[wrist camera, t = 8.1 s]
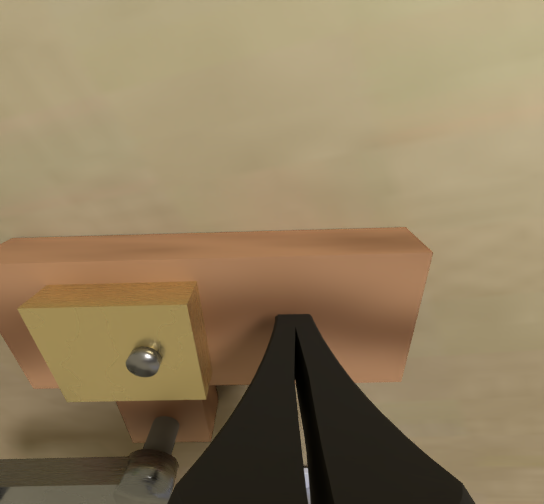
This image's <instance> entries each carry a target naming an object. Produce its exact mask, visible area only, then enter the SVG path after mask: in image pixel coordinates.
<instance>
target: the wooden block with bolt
mask: <svg viewBox="0 0 544 504" xmlns="http://www.w3.org/2000/svg"><path fill="white" fill-rule="evenodd" d="M17 310H18V311H19V313H20V315H21V317H22V319H23V321H24V323H25V324H26V326H27V328H28V330H29V332H30V334H31V336H32V337H33V339H34V341H35V343H36V345H37V347H38V349H39V351H40V352H41V354H42V356H43V358H44V360H45V362H46V364H47V365H48V367H49V369H50V371H51V373H52V375H53V377H54V378H55V380H56V382H57V384H58V386H59V388H60V390H61V392H62V393H63V395H64V397H65V399H66V401H67V402H98V401H154V400H206V398H207V394H208V389H209V385H210V381H211V376H212V372H213V369H212V364H211V358H210V352H209V347H208V341H207V335H206V330H205V324H204V318H203V313H202V307H201V301H200V296H199V290H198V284H197V281H185V282H145V283H105V284H65V285H46V286H45V287H44V288H42V289H41V290H40V291H39V292H37V293H36V294H35V295H34V296H32V297H31V298H30V299H28V300H27V301H26V302H25V303H23V304H22V305H21V306H20V307H18V308H17Z"/></svg>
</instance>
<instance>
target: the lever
mask: <svg viewBox="0 0 544 504" xmlns="http://www.w3.org/2000/svg"><path fill="white" fill-rule="evenodd" d="M178 467H179V465H178V462H177V460H176V459H175V458H174V457H173V456H172V455H170V454H168V453H166V452H164V451H160V450H155V449H141V450H137V451H135V452H133V453H131V454H130V455H129V457H89V458H45V459H0V504H167V503H168V501H169V498H170V496H171V493H172V490H173V486H174V482H175V478H176V474H177V471H178Z"/></svg>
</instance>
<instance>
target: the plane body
mask: <svg viewBox="0 0 544 504" xmlns="http://www.w3.org/2000/svg"><path fill="white" fill-rule="evenodd" d="M432 255H433V252H432V251H431V250H430V249H429V248H428V247H427V246H425V245H424V244H423V243H422V242H421V241H420V240H419V239H418V238H417V237H416V236H415V235H414V234H412V233H411V232H410V231H409V230H408V229H407V228H406V227H399V228H363V229H327V230H291V231H255V232H219V233H183V234H147V235H111V236H75V237H39V238H12V239H10V240H8V241H6V242H4V243H2V244H0V333H1V335H2V337H3V338H4V340H5V342H6V343H7V345H8V347H9V348H10V350H11V352H12V353H13V355H14V357H15V358H16V360H17V362H18V363H19V365H20V367H21V368H22V370H23V372H24V373H25V375H26V377H27V378H28V380H29V382H30V384H31V385H32V387H33V389H38V388H59V386H58V384H57V382H56V380H55V378H54V377H53V375H52V373H51V371H50V369H49V367H48V365H47V364H46V362H45V360H44V358H43V356H42V354H41V352H40V351H39V349H38V347H37V345H36V343H35V341H34V339H33V337H32V336H31V334H30V332H29V330H28V328H27V326H26V324H25V323H24V321H23V319H22V317H21V315H20V313H19V311H18V310H17V308H18V307H20V306H21V305H22V304H23V303H25V302H26V301H27V300H28V299H30V298H31V297H32V296H34V295H35V294H36V293H37V292H39V291H40V290H41V289H42V288H44V287H45V286H46V285H65V284H105V283H145V282H185V281H197V284H198V290H199V296H200V301H201V307H202V313H203V318H204V324H205V330H206V335H207V341H208V347H209V352H210V358H211V364H212V369H213V372H212V376H211V381H210V385H209V389H208V394H207V398H206V400H154V401H116V403H117V406H118V408H119V410H120V413H121V415H122V417H123V420H124V422H125V425H126V427H127V429H128V432H129V434H130V437H131V439H132V441H133V443H145V445H144V447H143V449H155V450H160V451H164V452H166V453H168V454H170V455H171V454H172V450H173V447H174V443H175V442H211V438H212V433H213V428H214V422H215V417H216V411H217V406H218V395H217V390H216V385H250V383H251V381H252V379H253V377H254V376H255V374H256V371H257V369H258V367H259V365H260V363H261V361H262V359H263V356H264V354H265V351H266V349H267V346H268V343H269V341H270V338H271V335H272V331H273V328H274V323H275V317H276V316H277V315H278V314H310V315H311V316H312V318H313V320H314V322H315V324H316V326H317V328H318V330H319V332H320V333H321V335H322V337H323V339H324V340H325V342H326V344H327V345H328V347H329V348H330V350H331V351H332V353H333V354H334V356H335V357H336V359H337V360H338V362H339V363H340V364H341V366H342V367H343V368H344V370H345V371H346V372H347V374H348V375H349V376H350V378H351V379H352V380H353V381H354V383H360V382H401V380H402V376H403V372H404V368H405V364H406V360H407V356H408V352H409V348H410V344H411V340H412V336H413V332H414V328H415V324H416V320H417V316H418V312H419V307H420V303H421V299H422V295H423V291H424V287H425V283H426V279H427V275H428V271H429V267H430V263H431V259H432ZM295 384H296V381H295Z"/></svg>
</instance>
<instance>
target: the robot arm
mask: <svg viewBox="0 0 544 504" xmlns="http://www.w3.org/2000/svg"><path fill="white" fill-rule="evenodd" d="M295 381H296V388H297V394H298V400H299V406H300V412H301V418H302V424H303V430H304V436H305V444H306V452H307V464H308V468H304V466H303V458H302V449H301V440H300V431H299V422H298V412H297V402H296V392H295ZM167 504H475V502H474V501H473V499H472V498H471V496H470V495H469V493H468V491H467V490H466V488H465V487H464V485H463V483H461V482H460V481H459V480H458V479H456V478H455V477H454V476H453V475H451V474H450V473H449V472H448V471H446V470H445V469H444V468H443V467H441V466H440V465H439V464H437V463H436V462H435V461H434V460H433V459H431V458H430V457H429V456H428V455H427V454H425V453H424V452H423V451H422V450H421V449H420V448H419V447H417V446H416V445H415V444H414V443H413V442H412V441H411V440H410V439H408V438H407V437H406V436H405V435H404V434H403V433H402V432H401V431H400V430H399V429H398V428H397V427H396V426H395V425H394V424H393V423H392V422H391V421H390V420H389V419H388V418H387V417H385V416H384V415H383V414H382V413H381V412H380V411H379V410H378V408H377V407H376V406H375V405H374V404H373V403H372V402H371V401H370V400H369V399H368V398H367V397H366V395H365V394H364V393H363V392H362V391H361V390H360V389H359V387H358V386H357V385H356V384H355V383H354V381H353V380H352V379H351V378H350V376H349V375H348V374H347V372H346V371H345V370H344V368H343V367H342V366H341V364H340V363H339V362H338V360H337V359H336V357H335V356H334V354H333V353H332V351H331V350H330V348H329V347H328V345H327V344H326V342H325V340H324V339H323V337H322V335H321V333H320V332H319V330H318V328H317V326H316V324H315V322H314V320H313V318H312V316H311V315H310V314H278V315H277V316H276V317H275V323H274V328H273V331H272V335H271V338H270V341H269V343H268V346H267V349H266V351H265V354H264V356H263V359H262V361H261V363H260V365H259V367H258V369H257V371H256V374H255V376H254V377H253V379H252V381H251V383H250V385H249V387H248V389H247V390H246V392H245V394H244V396H243V397H242V399H241V400H240V402H239V404H238V405H237V407H236V408H235V410H234V412H233V413H232V415H231V416H230V418H229V419H228V421H227V422H226V423H225V425H224V426H223V428H222V429H221V430H220V432H219V433H218V434H217V436H216V437H215V438H214V440H213V441H212V442H211V444H210V445H209V446H208V448H207V449H206V450H205V451H204V453H203V454H202V455H201V456H200V457H199V459H198V460H197V461H196V462H195V463H194V465H193V466H192V467H191V468H190V469H189V470H188V472H187V473H186V474H185V475H184V476H183V477H182V479H181V480H180V481H179V482H178V483H177V484H176V486H175V488H174V490H173V492H172V494H171V496H170V498H169V501H168V503H167Z"/></svg>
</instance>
